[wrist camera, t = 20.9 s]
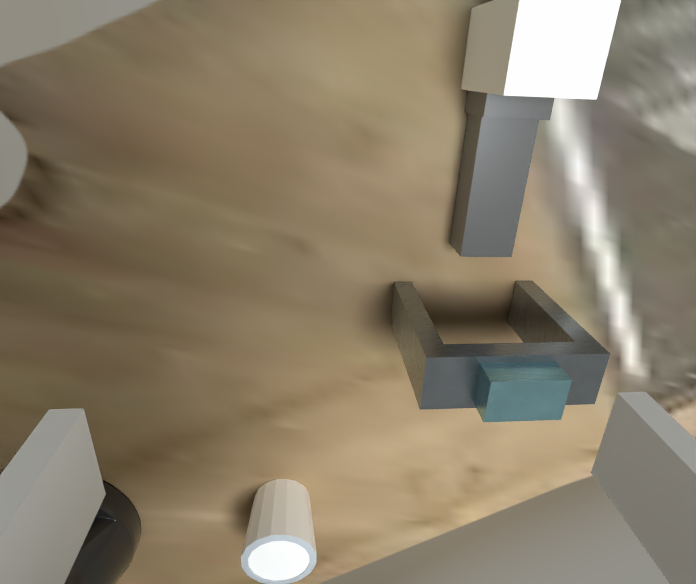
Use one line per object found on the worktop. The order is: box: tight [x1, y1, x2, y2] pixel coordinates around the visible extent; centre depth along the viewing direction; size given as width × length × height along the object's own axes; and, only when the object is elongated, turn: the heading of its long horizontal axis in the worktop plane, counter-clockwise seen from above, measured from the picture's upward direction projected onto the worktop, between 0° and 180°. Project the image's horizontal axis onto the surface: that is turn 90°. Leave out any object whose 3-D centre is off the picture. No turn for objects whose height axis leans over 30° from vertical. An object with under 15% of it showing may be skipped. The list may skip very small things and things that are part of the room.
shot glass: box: [241, 479, 316, 584], centre depth 46 cm, size 7×7×7 cm
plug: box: [450, 0, 621, 257], centre depth 32 cm, size 18×6×8 cm, turn 178°
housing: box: [391, 281, 610, 422], centre depth 35 cm, size 12×4×14 cm, turn 88°
